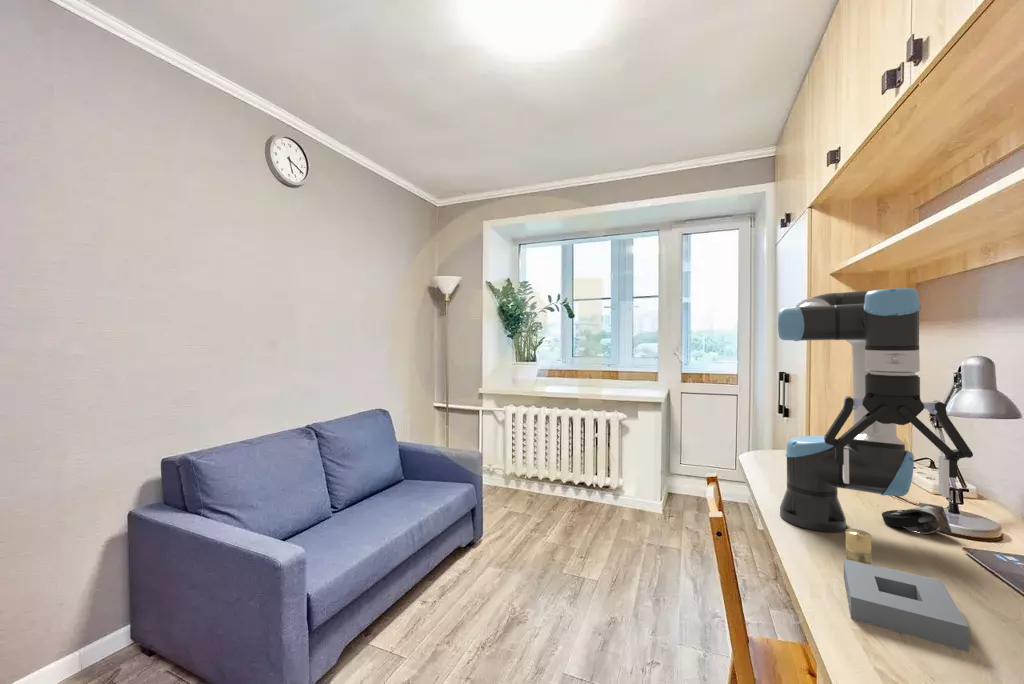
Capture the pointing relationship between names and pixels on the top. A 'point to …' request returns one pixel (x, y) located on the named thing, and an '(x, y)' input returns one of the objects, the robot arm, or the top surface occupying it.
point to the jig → (904, 604)
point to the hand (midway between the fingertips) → (892, 488)
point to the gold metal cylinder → (858, 546)
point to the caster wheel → (919, 519)
